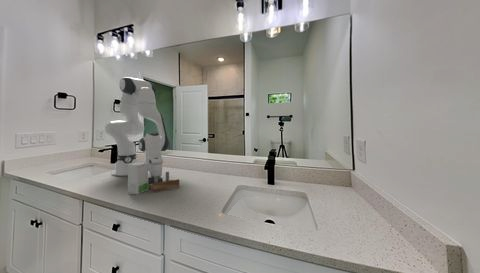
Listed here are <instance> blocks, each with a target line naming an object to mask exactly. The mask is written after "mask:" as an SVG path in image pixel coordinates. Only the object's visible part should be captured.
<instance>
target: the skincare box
mask: <svg viewBox="0 0 480 273" xmlns="http://www.w3.org/2000/svg"><path fill="white" fill-rule="evenodd" d="M127 166H128V175H127V194H130V195H140V194H142V193H145V192H146V191H148V190H149V186H148V178H149V171H148V163H147V162H146V161H145V162H142V161H140V162H138V163H132V164H128V165H127Z"/></svg>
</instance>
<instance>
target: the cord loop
mask: <svg viewBox="0 0 480 273" xmlns="http://www.w3.org/2000/svg"><path fill="white" fill-rule="evenodd" d="M162 181H164V179H163V177H162V176H160V177H158V182H162ZM151 183H155V182H154V177H151V176H150V177H148V187H149V184H151ZM156 183H157V182H156Z"/></svg>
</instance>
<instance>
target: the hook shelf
mask: <svg viewBox="0 0 480 273" xmlns="http://www.w3.org/2000/svg"><path fill="white" fill-rule="evenodd" d="M148 188H149V189H151V191H152V193H158V192H163V191H168V190H169V191H170V190H173V189H178V188H180V179H179V178H178V179H177V178H176V179H170V171H165V180H163V181H162V182H157V183H151V184H149V186H148Z"/></svg>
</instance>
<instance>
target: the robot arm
mask: <svg viewBox="0 0 480 273" xmlns="http://www.w3.org/2000/svg"><path fill="white" fill-rule="evenodd" d="M119 89H120V91H121V92H122V94H121V97H120V98H121V99H120V103H119V112H120V115H122V116H124V117H126V118H125V120H112V121H108V122H107V123H106V124H105V127H104V130H105V133H106V134H107V135H109V136H110V137H111V138H112V139H113V140H114V141H115V143H116V146H117V155H116V160H117V161H116V162H115V164H114V165H113V168H114V171H113V172H112V173H111V176H119V177H120V176H121V177H123V176H128V166H127V165H128V164H132V163H138V162H139V160H138V159H137V153H136V143H135V142H134V141H133V140H130V139H129V138H128V136H129V137H130V136H138V135H142V134H143V133H144V132H145V126H144V125H145V124H144V123H143V122H142V121H141V120H140V117H142V118H144V119H146V120H149V121H150V122H151V121H152V122H153V123H155V124H156V127H157V131H158V132H155V131H153V132H152V131H150V132H147V133H146V134H145V136H144V137H142V138H140V139H139V141H138V150H140V151H141V152H142V153H145V162H147V163H148V173H149V174H150V178H151V177H154V182H155V183H156V182H158V177H162V175H163V164H164V158H163V157H162V156H163V155H162V152H166V151H167V150H168V149H170V148H169V147H170V139H169V137H168V134H167V130H166V125H165V121H164V118H163V114H162V113H160V111H158V108H157V100H156V96H155V95H156V93H157V87H156V85H155V84H154V83H153V82H151V81H146V80H144V79H141V78H134V77H129V76H128V77H127V76H124V77H122V78H121V79H120V80H119ZM139 115H140V117H139Z"/></svg>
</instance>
